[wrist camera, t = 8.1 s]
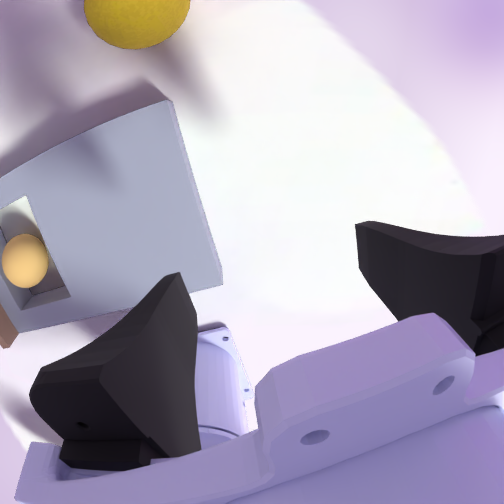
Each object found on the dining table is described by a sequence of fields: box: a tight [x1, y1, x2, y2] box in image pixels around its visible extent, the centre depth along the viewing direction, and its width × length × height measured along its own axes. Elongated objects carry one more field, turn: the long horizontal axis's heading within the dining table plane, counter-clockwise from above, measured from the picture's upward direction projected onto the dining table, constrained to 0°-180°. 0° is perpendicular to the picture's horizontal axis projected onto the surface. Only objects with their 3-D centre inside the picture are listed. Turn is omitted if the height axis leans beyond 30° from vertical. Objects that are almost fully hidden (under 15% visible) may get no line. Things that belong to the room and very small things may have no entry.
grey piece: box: [0, 100, 223, 349], centre depth 18 cm, size 12×20×4 cm, turn 104°
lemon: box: [84, 0, 190, 49], centre depth 11 cm, size 6×6×8 cm
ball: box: [2, 234, 49, 288], centre depth 18 cm, size 4×4×4 cm
